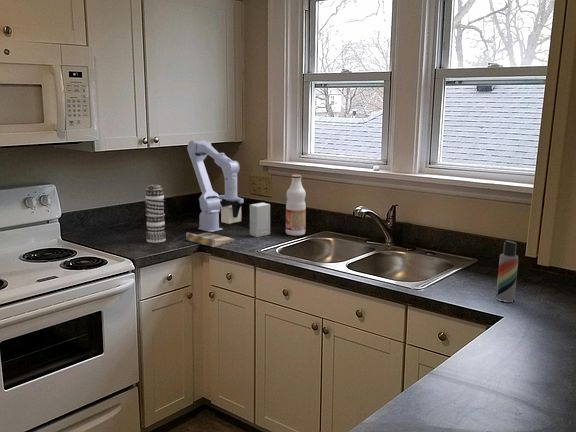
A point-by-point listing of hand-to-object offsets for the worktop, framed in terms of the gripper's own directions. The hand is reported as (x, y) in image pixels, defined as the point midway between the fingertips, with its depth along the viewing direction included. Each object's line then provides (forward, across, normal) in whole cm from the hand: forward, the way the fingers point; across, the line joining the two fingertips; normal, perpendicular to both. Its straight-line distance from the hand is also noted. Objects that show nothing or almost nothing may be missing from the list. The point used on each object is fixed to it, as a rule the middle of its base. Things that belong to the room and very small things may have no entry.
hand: (231, 216), depth 272 cm
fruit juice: (+9, +19, +24) cm, 32 cm away
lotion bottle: (+9, +129, +1) cm, 129 cm away
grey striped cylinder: (+9, -17, -30) cm, 36 cm away
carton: (+2, 0, 0) cm, 3 cm away
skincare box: (+9, +9, +10) cm, 16 cm away
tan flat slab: (+9, +1, -13) cm, 16 cm away
